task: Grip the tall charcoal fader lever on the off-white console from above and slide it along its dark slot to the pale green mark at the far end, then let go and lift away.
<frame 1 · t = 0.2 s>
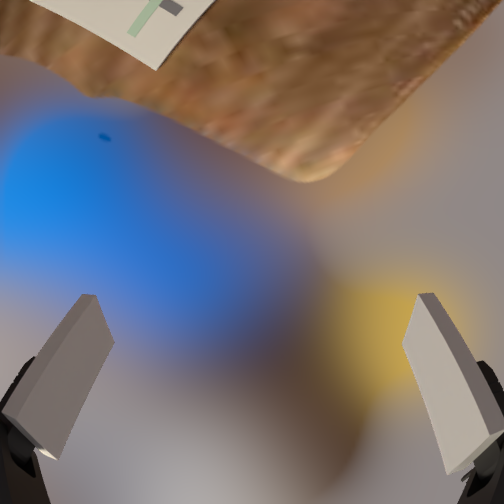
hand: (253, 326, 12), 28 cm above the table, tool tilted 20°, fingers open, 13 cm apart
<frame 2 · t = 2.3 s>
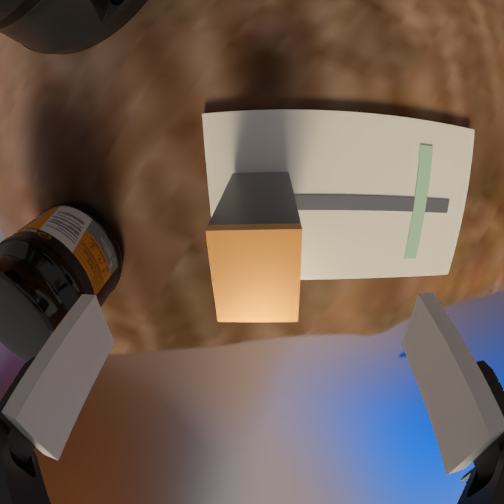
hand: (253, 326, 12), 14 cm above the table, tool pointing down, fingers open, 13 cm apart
fader lever: (259, 233, 18), point 6 cm above the table, slide at 0.0 cm
fader console: (349, 198, 23), on the table
supplement container: (82, 246, 27), on the table
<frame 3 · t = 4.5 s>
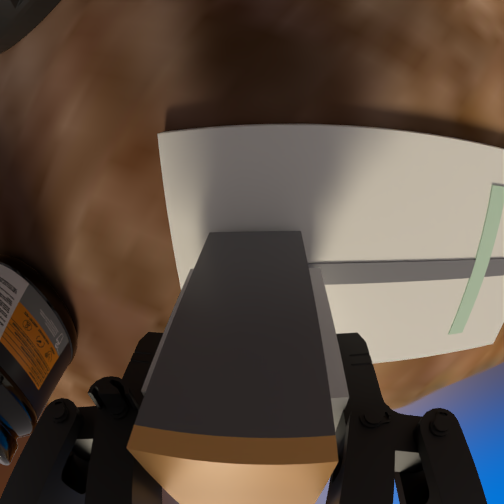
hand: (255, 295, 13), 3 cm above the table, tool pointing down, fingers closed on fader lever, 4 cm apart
fader lever: (250, 358, 10), point 6 cm above the table, slide at 0.0 cm, touching gripper
fader console: (388, 262, 15), on the table
supplement container: (31, 306, 19), on the table
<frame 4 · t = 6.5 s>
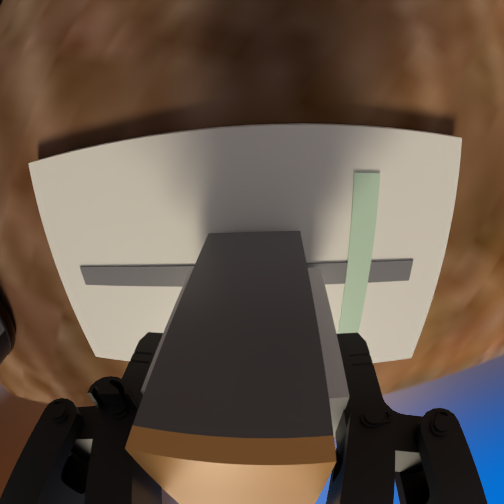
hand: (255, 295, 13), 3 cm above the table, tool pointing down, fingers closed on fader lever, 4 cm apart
fader lever: (250, 359, 10), point 6 cm above the table, slide at 8.0 cm, touching gripper
fader console: (238, 265, 16), on the table
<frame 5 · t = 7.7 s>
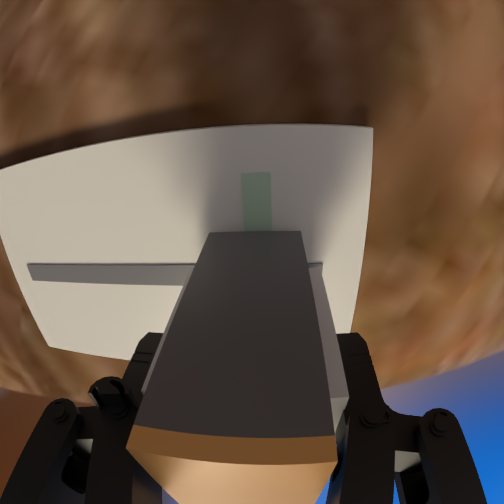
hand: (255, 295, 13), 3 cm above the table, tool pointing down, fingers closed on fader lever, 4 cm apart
fader lever: (250, 358, 10), point 6 cm above the table, slide at 12.9 cm, touching gripper
fader console: (151, 265, 16), on the table
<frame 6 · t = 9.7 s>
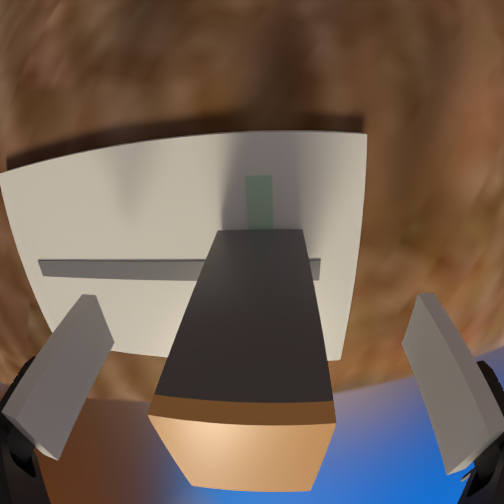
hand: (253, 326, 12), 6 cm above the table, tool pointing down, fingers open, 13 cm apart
fader lever: (256, 344, 11), point 6 cm above the table, slide at 13.0 cm
fader console: (159, 262, 17), on the table
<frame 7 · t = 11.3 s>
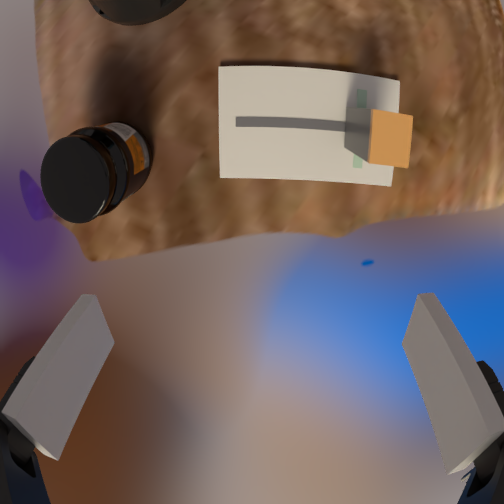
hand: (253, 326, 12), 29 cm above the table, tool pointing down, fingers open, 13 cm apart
fader lever: (374, 133, 28), point 6 cm above the table, slide at 13.0 cm
fader console: (311, 123, 34), on the table
supplement container: (120, 158, 37), on the table
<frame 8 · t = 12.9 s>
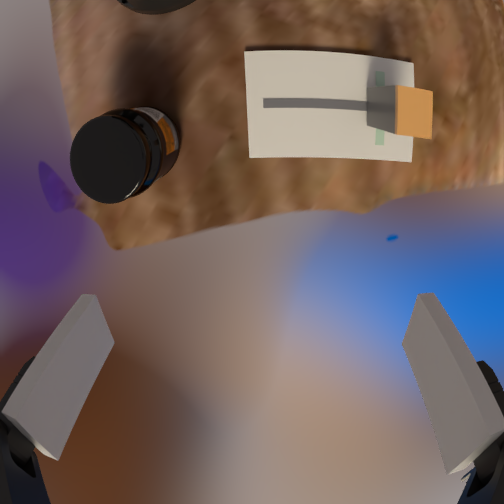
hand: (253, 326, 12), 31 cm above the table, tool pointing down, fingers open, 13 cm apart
fader lever: (396, 109, 28), point 6 cm above the table, slide at 13.0 cm
fader console: (334, 104, 34), on the table
supplement container: (147, 142, 38), on the table
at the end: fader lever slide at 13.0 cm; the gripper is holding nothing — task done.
